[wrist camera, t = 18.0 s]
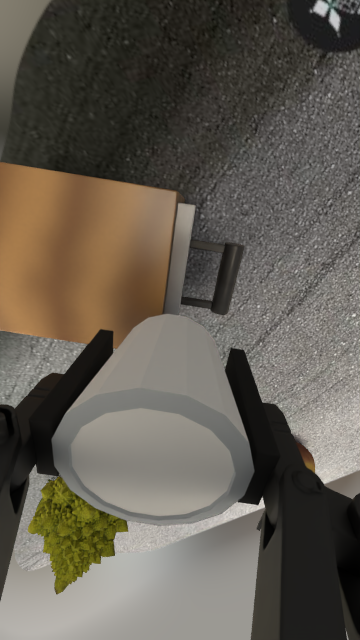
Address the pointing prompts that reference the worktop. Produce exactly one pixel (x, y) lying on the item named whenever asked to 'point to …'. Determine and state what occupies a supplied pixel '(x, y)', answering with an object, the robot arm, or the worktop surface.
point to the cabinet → (81, 253)
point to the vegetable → (73, 532)
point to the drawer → (179, 263)
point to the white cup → (157, 430)
